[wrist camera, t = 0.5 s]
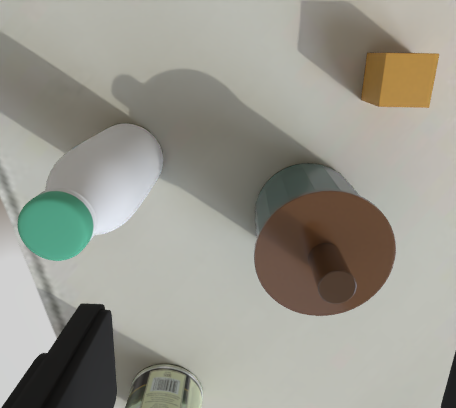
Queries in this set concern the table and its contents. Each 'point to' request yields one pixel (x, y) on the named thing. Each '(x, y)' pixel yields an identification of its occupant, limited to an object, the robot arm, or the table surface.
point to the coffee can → (165, 388)
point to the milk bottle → (91, 191)
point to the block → (399, 79)
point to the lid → (324, 252)
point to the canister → (296, 187)
